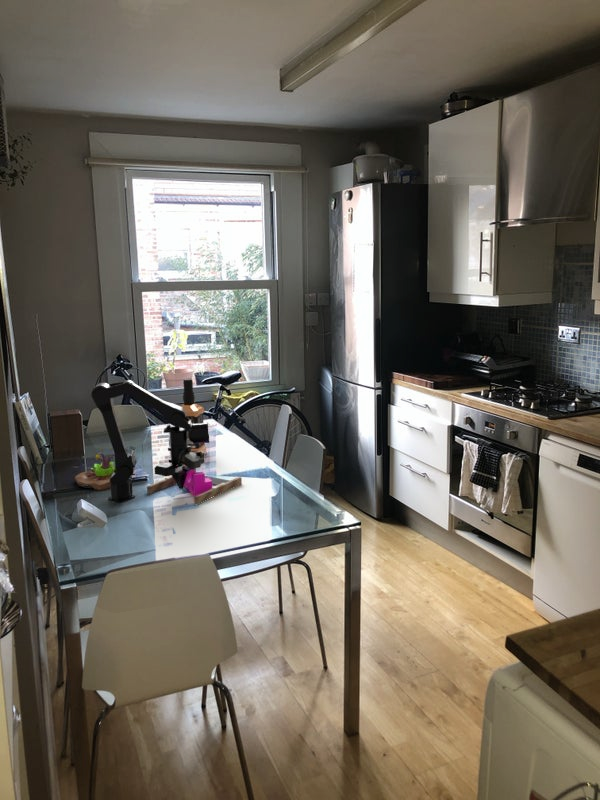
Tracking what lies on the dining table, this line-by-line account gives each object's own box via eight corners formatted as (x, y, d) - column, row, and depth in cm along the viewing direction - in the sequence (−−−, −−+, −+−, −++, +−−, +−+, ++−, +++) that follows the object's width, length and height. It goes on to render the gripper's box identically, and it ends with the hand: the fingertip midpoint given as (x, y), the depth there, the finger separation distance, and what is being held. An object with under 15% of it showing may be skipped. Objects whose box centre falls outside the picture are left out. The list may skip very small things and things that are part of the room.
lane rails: (197, 504, 210) (197, 496, 210) (147, 493, 222) (146, 485, 222) (241, 483, 230) (241, 476, 230) (193, 474, 242) (193, 466, 242)
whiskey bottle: (207, 452, 271) (203, 377, 265) (199, 459, 261) (195, 381, 255) (183, 451, 273) (179, 377, 267) (175, 458, 263) (170, 381, 257)
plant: (65, 483, 234) (62, 454, 232) (107, 470, 250) (105, 442, 248) (101, 493, 224) (99, 462, 221) (144, 478, 240) (142, 449, 237)
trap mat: (227, 488, 226) (227, 486, 226) (186, 479, 236) (186, 478, 236) (238, 483, 231) (238, 482, 231) (196, 475, 241) (196, 474, 241)
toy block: (212, 493, 221) (211, 472, 219) (194, 496, 218) (193, 475, 217) (199, 481, 234) (198, 461, 233) (182, 483, 231) (181, 463, 230)
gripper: (177, 454, 205) (179, 501, 208) (215, 441, 220) (217, 484, 223) (152, 449, 211) (154, 495, 214) (190, 437, 226) (192, 479, 229)
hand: (181, 488), depth 220 cm, fingers closed
